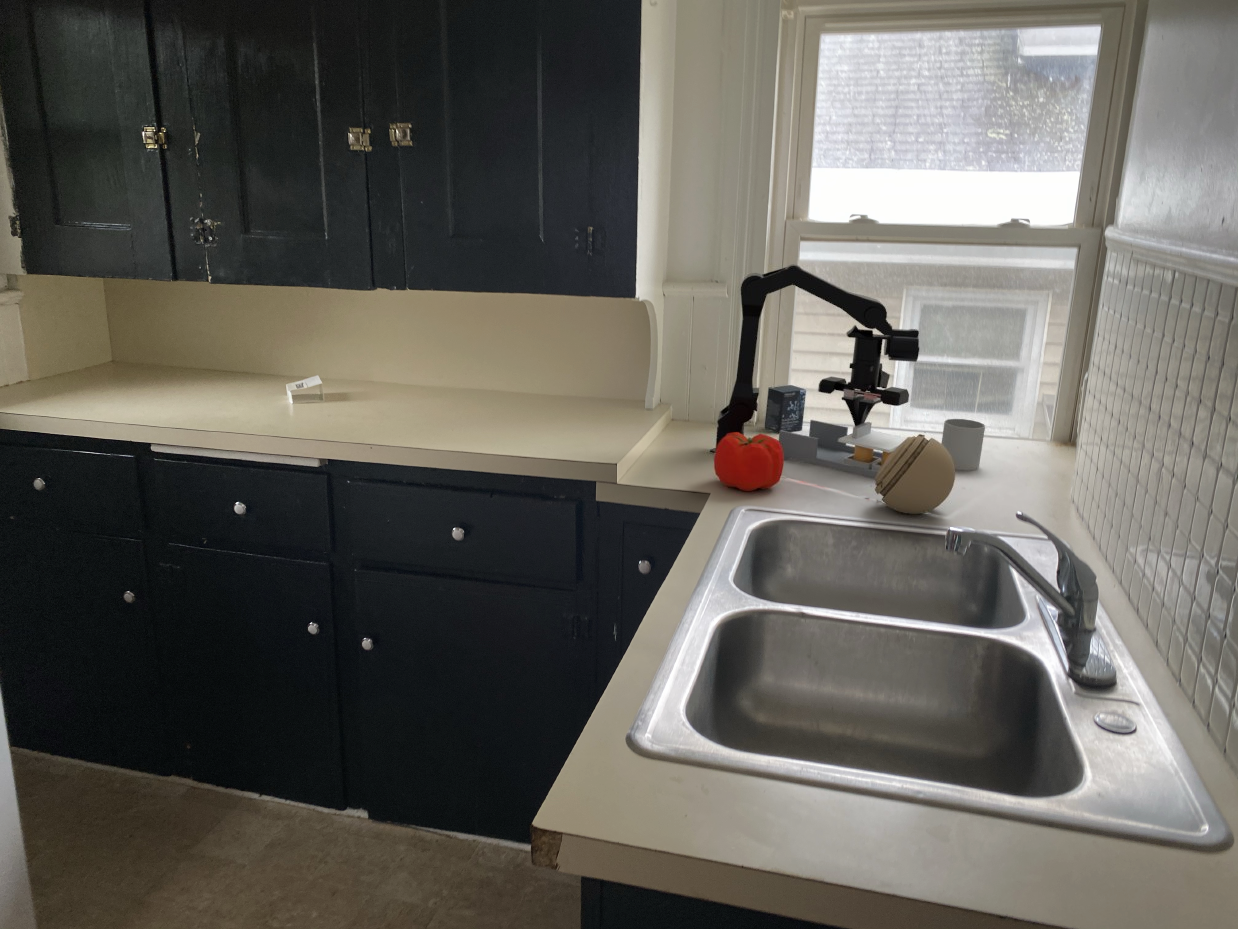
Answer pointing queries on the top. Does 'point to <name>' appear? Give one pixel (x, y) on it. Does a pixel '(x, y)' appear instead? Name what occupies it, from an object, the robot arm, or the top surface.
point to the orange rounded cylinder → (863, 454)
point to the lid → (872, 438)
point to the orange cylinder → (885, 456)
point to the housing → (827, 449)
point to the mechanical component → (916, 476)
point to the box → (785, 408)
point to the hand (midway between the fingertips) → (858, 429)
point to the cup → (963, 442)
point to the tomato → (748, 461)
